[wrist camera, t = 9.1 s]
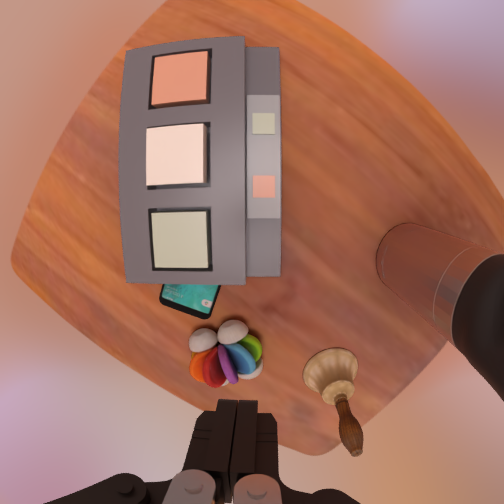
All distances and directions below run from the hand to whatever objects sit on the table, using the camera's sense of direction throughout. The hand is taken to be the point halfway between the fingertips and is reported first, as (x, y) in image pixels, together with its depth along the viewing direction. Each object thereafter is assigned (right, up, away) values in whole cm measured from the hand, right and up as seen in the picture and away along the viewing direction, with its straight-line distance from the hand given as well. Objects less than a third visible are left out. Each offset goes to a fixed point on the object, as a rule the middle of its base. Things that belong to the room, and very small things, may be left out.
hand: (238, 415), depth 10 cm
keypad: (-5, +17, +23) cm, 29 cm away
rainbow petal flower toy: (-3, -6, +28) cm, 29 cm away
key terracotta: (-7, +26, +19) cm, 33 cm away
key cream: (-7, +17, +20) cm, 27 cm away
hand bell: (+12, -11, +29) cm, 33 cm away
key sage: (-7, +8, +23) cm, 25 cm away
